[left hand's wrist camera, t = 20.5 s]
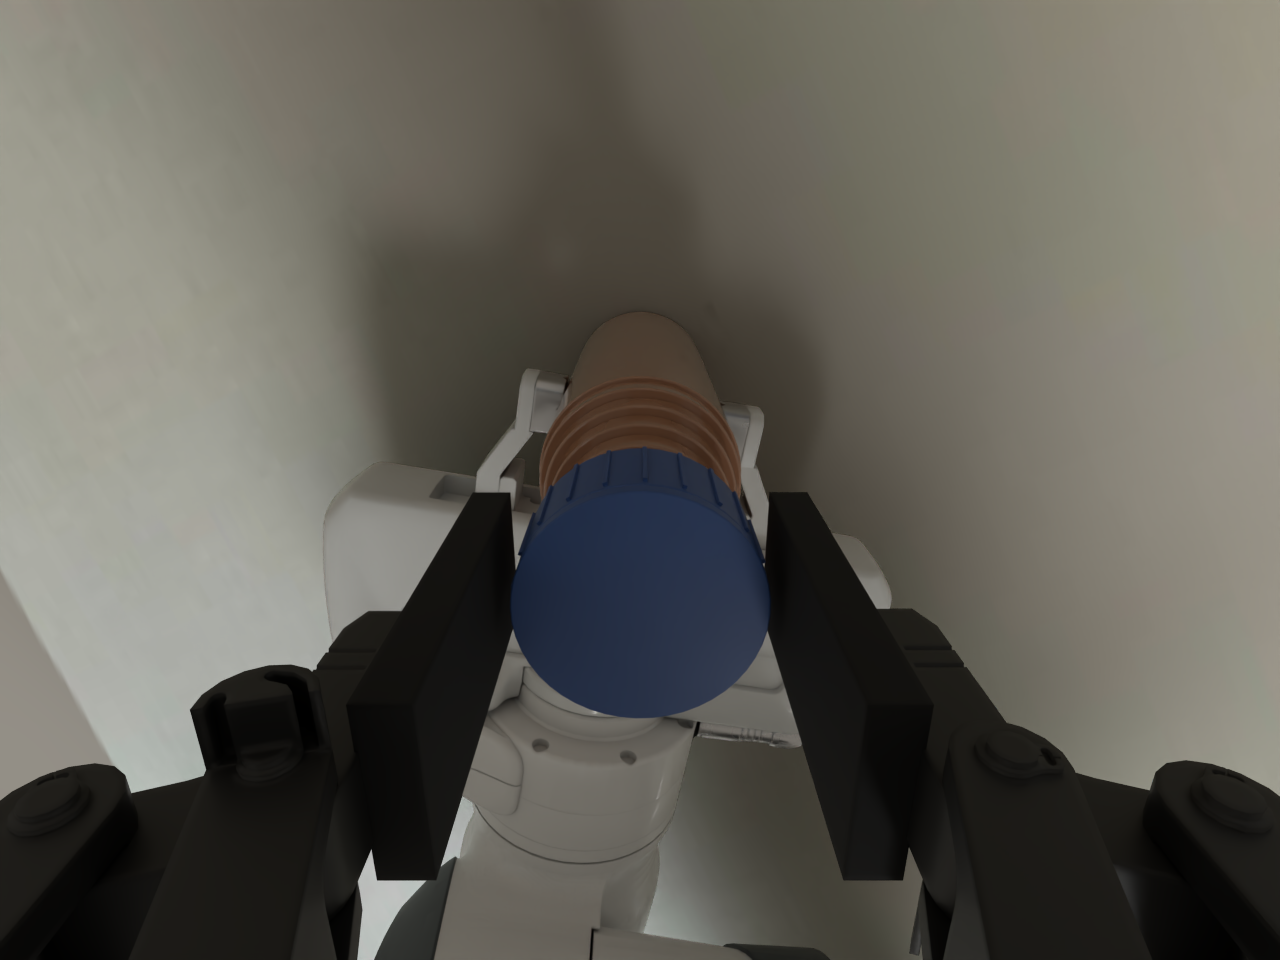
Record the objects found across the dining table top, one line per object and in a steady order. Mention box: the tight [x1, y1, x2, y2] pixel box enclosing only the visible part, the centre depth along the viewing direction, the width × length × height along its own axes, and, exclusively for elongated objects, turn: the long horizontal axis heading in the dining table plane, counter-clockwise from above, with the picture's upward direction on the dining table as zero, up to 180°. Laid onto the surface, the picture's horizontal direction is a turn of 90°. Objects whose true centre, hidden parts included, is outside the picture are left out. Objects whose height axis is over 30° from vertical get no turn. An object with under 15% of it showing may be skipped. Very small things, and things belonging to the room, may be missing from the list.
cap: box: [510, 446, 771, 718], centre depth 14 cm, size 5×5×2 cm
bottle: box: [539, 312, 741, 501], centre depth 22 cm, size 5×5×19 cm
